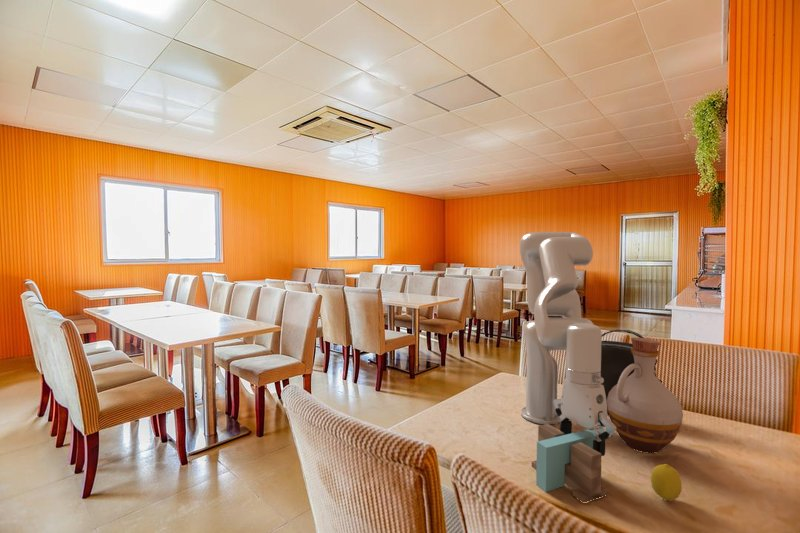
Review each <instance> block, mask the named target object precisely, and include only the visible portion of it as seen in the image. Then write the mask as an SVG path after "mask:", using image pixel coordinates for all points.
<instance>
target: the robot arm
mask: <svg viewBox="0 0 800 533" xmlns="http://www.w3.org/2000/svg"><path fill="white" fill-rule="evenodd" d="M519 255H520V257H521V261H522V265H523V267H524V270H525V273H526V290H527V291H526V292H527V293H526V296H527V306H528V311H529V313H531V314H532V315H533V318H534V320H531V321H529V322H527V323H526V324H525V326H524V330H523V332H524V336H523V337H524V342H525V349H526V384H525V385H526V387H525V388H526V391H525V392H526V393H525V394H526V396H525V406H524V407H523V408H521V411H520V413H521V414H520V415H521V416H522V417H523V418H524V419H525V420H527V421H529V422H532V423H534V424H539V425H545V424H549V425H555V424H559V425H560V426H559V427H560V428H559V430H560V431H561V432H563V433H564V435H567V434H571V433H573V431H572V429H573V427H572V426H573V425H572V424H573V422H574V423H576V424H578V425H580V426H581V427H584V428H585V429H588V430H590V431H592V433H593V435H594V437H595V440H593V449H594V450H596V451H597V452H599V453H601V454H602V456H601V457H604V456H605V454H606V441H607V440H609V439H610V438H611V437H613V436H614V434H615V432H616V426H615V425H614V424H613V423H612V422H611V420H610V418H609V417H608V414H607V402H606V395H605V390H604V386H603V385H601V383H603V382H604V379H603V378H602V377H601V344H602V341H603V340H602V339H603V337H602V334H603V333H602V330H601V328H600V326H598V325H595V324H594V322H592V320H590V319H589V318H583V317H582V306H581V305H582V304H581V300H580V299H581V298H580V296H579V294H578V292H577V290H576V289H577V287H578V285H579V280H578V274H577V271H576V268H575V267H576V266H578V267H579V266H581V267H584V266H588V265H589V264H590V263H591V262H592V260H593V255H594V251H593V247H592V243H591V242H590V240H589V239H588V238H587V237H585V236H583V235H581V234H579V233H577V232H572V231H532V232H528V233H526V234H523V236H522V237H521V238H520V242H519ZM551 351H566V357H565V360H566V362H565V377H564V378H563V383H562V390H561V394H560V395H561V396H560V398H558V383H559V382H558V381H559V380H558V374H559V371H558V370H559V367H558V366H559V365H558V362H557V360H556V358H555V357H554V356H553V355H552V354H551Z"/></svg>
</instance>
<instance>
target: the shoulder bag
mask: <svg viewBox="0 0 800 533" xmlns="http://www.w3.org/2000/svg"><path fill="white" fill-rule="evenodd" d="M614 332H615V333H617V332H619V333H621V332H622V333H623V332H624V333H628V334H632V335H634V336H635V337H637V338H645V337H644V336H643V335H641V334H640V333H638V332H635V331H633V330H631V329H620V328H617V329H610V330H609V331H606V332H604V333H602V338H603V337H604V336H606V335H608V334H611V333H614ZM631 348H633V345H632V343H630V342H624V341H623V342H621V341H614V340H602V344H601V377H602V378H603V379H604V382H603V383H601V385H603V386H604V390H605V395H606V402H607V398H608V394H609V392H610V390H611V389H612V388H613V387H614V386H615V385H616V384H618V381H619V378H620V376H621V374H622V372H623V371H624V369H625V368H626V367H627V366H629V365H631V364H635V362H634V356H633V353H632V352H631ZM657 363H658V359H657V358H656V361H655V366H654V374H655V376H656V377H657V367H656V365H657ZM634 370H635V369H633V370H632V371H631V372H630V373H629V375H628V376H630V375H631V374H632V373H634ZM628 376H627V377H628ZM659 380H660V382H661V383H662V384H663V380H661V379H659ZM607 415H609V413H608V409H607Z"/></svg>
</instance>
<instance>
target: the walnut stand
mask: <svg viewBox="0 0 800 533" xmlns="http://www.w3.org/2000/svg"><path fill="white" fill-rule="evenodd" d="M537 429H538V430H537V442H538V441H542V440H546V439H550V438H554V437H558V436H563V435H564V433H563V432H561V431H560V429H558V428H556V427H554V426H552V424H539V425H538V427H537ZM602 457H603V456H602V454H601V453H599V452H597V451H596V450H594V449H592V448H590V447H588V446H587V445H585V444H583V443H577V444H573V445H571V463H568V464H565V473H564V485H566V486H568V487H569V488H570V487H571V488H570V489H572V497H573V496H575V497H576V498H578V499H579V500H581V501H582V502H587V501H590V500H593V499H596V498H599V497H602V496H605V495H607V496H608V490H607V489H605V488H603V487H602ZM531 468H533V469H535V470H536V469H537V459H536V460H534V461H533V460H532V461H531ZM573 489H574V490H573ZM576 498H575V499H576ZM579 500H578V501H579Z"/></svg>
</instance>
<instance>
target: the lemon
mask: <svg viewBox="0 0 800 533" xmlns="http://www.w3.org/2000/svg"><path fill="white" fill-rule="evenodd" d="M650 483H651V486H652V490H653V491H654V492H655V494H656V495H658V496H659V497H660V498H661V499H663V500H664V499H665V500H668V501H672V500H675V499H678V497H680V495H681V493H682V489H683V487H682V486H683V484H682V478H681V476H680V474H679V473H678V471H677V469H675V468H674V467H672V466H670V465H669V464H667V463H664V464H659V465H656V466H655V467H654V468H653V469H652V472H651V475H650ZM665 500H664V501H665Z"/></svg>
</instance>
